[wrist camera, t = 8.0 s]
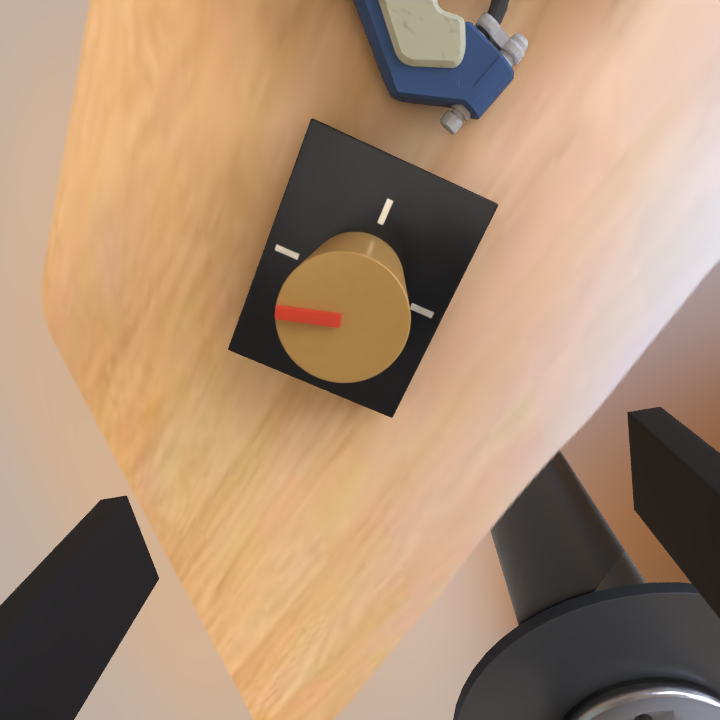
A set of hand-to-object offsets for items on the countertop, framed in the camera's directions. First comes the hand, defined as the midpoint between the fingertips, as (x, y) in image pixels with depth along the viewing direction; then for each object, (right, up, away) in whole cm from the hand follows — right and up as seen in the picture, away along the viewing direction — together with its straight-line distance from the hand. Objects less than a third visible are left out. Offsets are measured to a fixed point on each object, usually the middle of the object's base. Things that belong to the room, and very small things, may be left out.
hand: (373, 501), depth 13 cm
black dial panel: (0, +9, +19) cm, 21 cm away
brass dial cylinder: (-1, +8, +16) cm, 18 cm away
